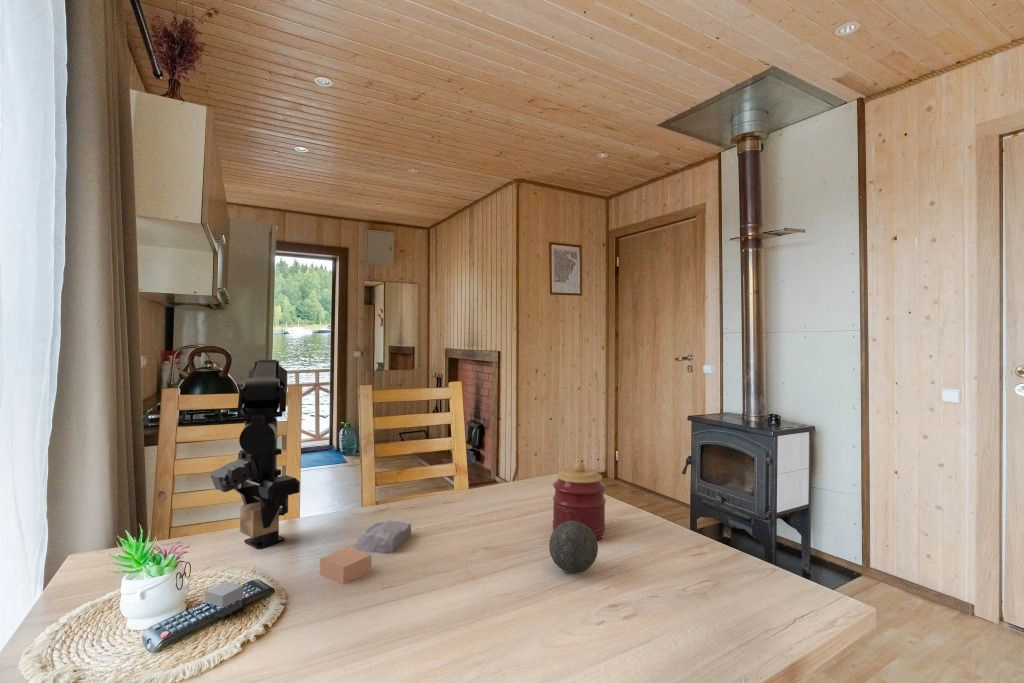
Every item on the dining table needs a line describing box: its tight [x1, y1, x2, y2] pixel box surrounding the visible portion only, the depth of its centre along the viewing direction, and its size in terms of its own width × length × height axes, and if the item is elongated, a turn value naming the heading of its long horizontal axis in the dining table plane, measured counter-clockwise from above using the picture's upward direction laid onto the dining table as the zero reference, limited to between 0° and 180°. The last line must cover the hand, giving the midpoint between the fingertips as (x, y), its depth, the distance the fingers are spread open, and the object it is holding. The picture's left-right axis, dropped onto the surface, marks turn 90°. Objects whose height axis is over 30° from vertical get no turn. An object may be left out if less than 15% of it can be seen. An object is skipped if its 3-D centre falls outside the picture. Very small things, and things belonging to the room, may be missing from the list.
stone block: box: [356, 520, 412, 554], centre depth 116 cm, size 12×5×10 cm
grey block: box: [204, 580, 244, 608], centre depth 86 cm, size 4×4×4 cm
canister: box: [552, 461, 607, 540], centre depth 123 cm, size 13×13×18 cm
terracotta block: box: [319, 546, 372, 585], centre depth 101 cm, size 7×7×4 cm
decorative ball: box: [548, 521, 599, 574], centre depth 103 cm, size 10×10×10 cm
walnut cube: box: [239, 502, 280, 538], centre depth 97 cm, size 5×5×5 cm
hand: (259, 524), depth 97 cm, fingers closed on walnut cube, 5 cm apart
